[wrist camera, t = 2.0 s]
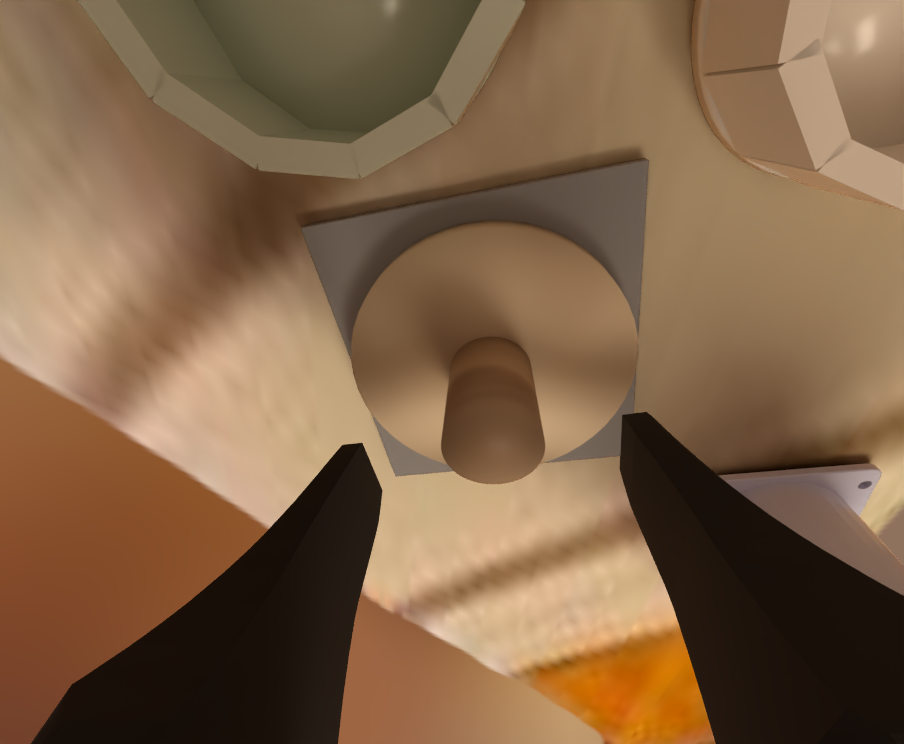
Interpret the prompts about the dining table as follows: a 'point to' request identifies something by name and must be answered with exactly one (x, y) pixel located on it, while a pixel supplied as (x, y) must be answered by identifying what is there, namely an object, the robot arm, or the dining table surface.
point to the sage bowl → (310, 72)
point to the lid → (494, 348)
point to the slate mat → (536, 202)
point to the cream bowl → (807, 90)
